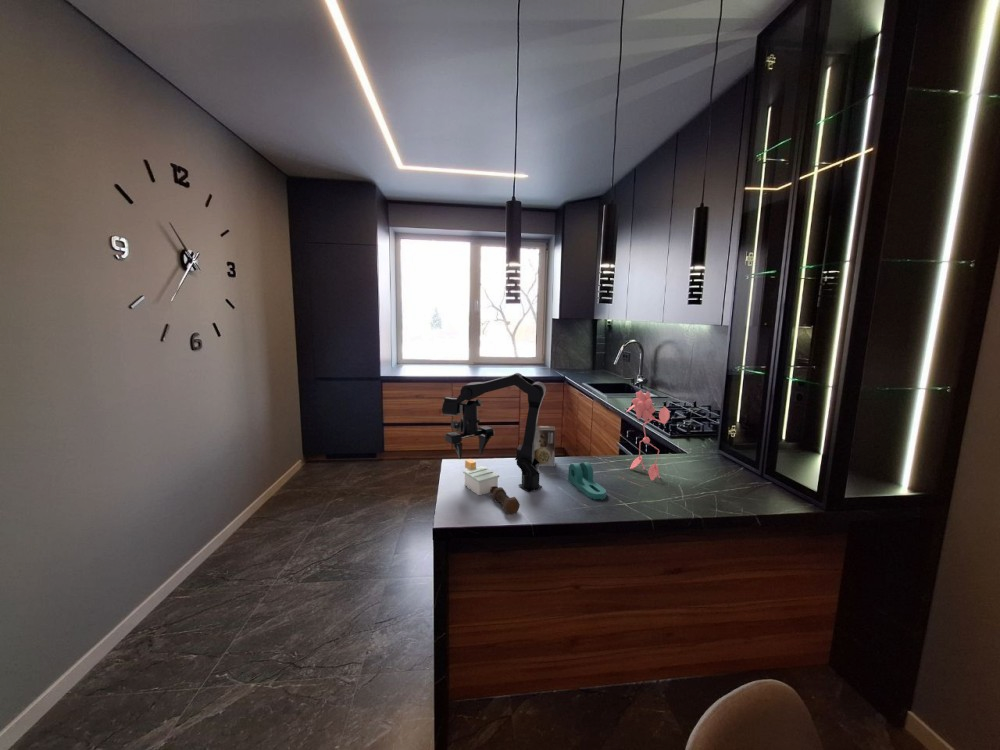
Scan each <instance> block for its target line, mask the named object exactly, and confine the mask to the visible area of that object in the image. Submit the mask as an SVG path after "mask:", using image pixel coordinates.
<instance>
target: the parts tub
mask: <svg viewBox="0 0 1000 750" xmlns="http://www.w3.org/2000/svg"><path fill="white" fill-rule="evenodd" d="M498 479H499V477H498V478H495V479H491V480H487V481H484V482H480V483H478V482H477V481H475V480H474V479H472V478H471V477H469V476H467V475H466V474H464V486H465V487H466V486H467V487H466V488H467V489H469V490H470V489H471V490H470V491H472V492H473V493H475V494H476V495H477V496H479V495H480V496H483V495H485V493H486V494H490V489H492V488H491V487H493V486H497V487H498V488H499V486H498V485H499V483H498ZM482 494H483V495H482Z"/></svg>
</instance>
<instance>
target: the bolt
mask: <svg viewBox="0 0 1000 750" xmlns="http://www.w3.org/2000/svg"><path fill="white" fill-rule="evenodd" d="M491 488H492V489H490V492H489V494H491V496H492V498H493V500H494V502H496V501H499V503H500V504H501V505H502V508H503V510H504V512H505V513H506V515H508V514H510V515H514V513H515V514H516V513H517V512H518V511H519V509H520V506H521V504H520V502H519V500H518V499H517V497H515V496H513V497H509V495H507V492H506V490H505V489H504V488H503V487H499V486H498V487H497V486H493V487H491Z"/></svg>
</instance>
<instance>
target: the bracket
mask: <svg viewBox="0 0 1000 750" xmlns="http://www.w3.org/2000/svg"><path fill="white" fill-rule="evenodd" d="M567 475H568V477H567V478H568V479H567V481H569V482H570V483H571V484H572V485H573V486H575V488H577V489H578V490H579V491H581V492H582V493H583V494H584V495H585V496H586V497H588V498H589V497H590V498H589V499H591V498H593V499H592V500H596V499H601V500H605V499H606V497H607V490H606V489H605V488H604V487H603V486H602V485H600V484H599V483H597V482H596V481H595V480H594V470H593V466H592V465H591V463H590V462H589V461H585V462H580V463H577V462H576V463H571V464H570V465H569V466H568V474H567Z"/></svg>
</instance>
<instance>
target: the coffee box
mask: <svg viewBox="0 0 1000 750" xmlns="http://www.w3.org/2000/svg"><path fill="white" fill-rule="evenodd" d="M534 449H535V458H536V459H537V460H538V461H539V462H540V466H539V467H555V465H556V464H555V459H556V458H555V454H556V453H555V452H556V450H555V449H556V428H555V425H554V426H553V425H537V427H536V433H535V439H534Z"/></svg>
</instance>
